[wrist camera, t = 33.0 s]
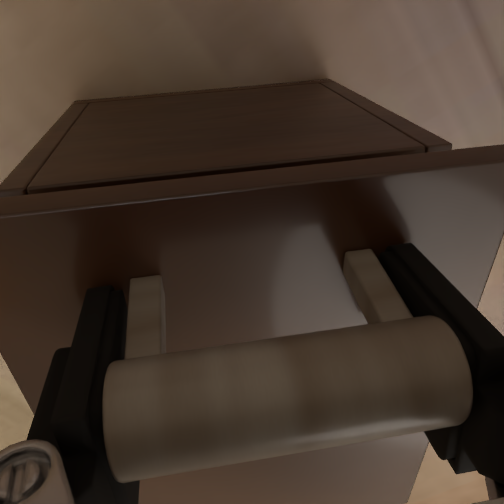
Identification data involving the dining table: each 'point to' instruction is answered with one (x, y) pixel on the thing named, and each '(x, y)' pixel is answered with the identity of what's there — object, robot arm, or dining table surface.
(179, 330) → the lid
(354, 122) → the chest
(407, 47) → the dining table surface
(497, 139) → the dining table surface
